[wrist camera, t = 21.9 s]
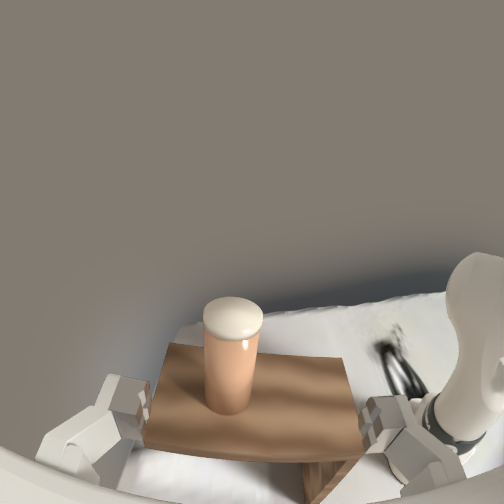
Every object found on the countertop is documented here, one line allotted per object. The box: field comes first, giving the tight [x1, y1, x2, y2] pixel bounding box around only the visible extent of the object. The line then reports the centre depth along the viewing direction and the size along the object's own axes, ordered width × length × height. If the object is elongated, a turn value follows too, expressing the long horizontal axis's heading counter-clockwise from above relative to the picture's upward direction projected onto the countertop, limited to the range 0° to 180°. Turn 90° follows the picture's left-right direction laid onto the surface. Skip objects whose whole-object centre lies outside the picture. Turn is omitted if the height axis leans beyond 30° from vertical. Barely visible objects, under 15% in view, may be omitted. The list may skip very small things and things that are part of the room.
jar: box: [203, 297, 263, 416], centre depth 31 cm, size 5×5×12 cm
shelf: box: [143, 343, 365, 504], centre depth 38 cm, size 15×23×20 cm, turn 89°
